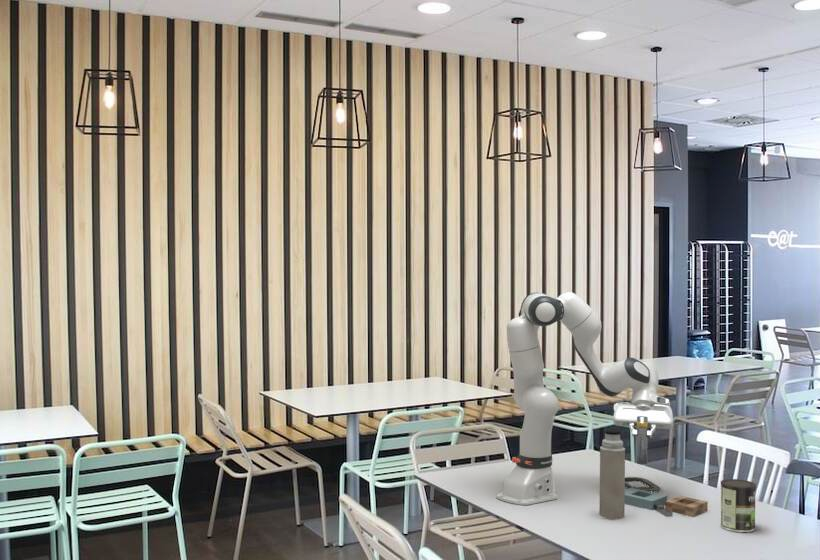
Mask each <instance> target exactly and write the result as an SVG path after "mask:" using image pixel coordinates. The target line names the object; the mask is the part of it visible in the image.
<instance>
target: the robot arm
mask: <svg viewBox="0 0 820 560" xmlns="http://www.w3.org/2000/svg"><path fill="white" fill-rule="evenodd" d="M558 321H560V322H561V323H562V324H563V325H564V326H565V327H566V329H567V330H568V331H569V332H570V334H571V335H572V337H573V342H572V343H573V348H574V350H575V351H576V353H577V354H578V356H579V358H580V360H581V361H582V362H583V364H584V365H585V367H586V369H587V370H588V371H589V374H590V375H591V376H592V378H593V379H594V382H595V384H596V385H597V388H598V389H599V391H600V392H601V393H602V394H603V395H606V396H608V397H612V398H613V397H616V396H617V395H619V394H621V393H622V392H623V391H625V390H628V389H631V390H632V393H631V400H630V402H629V401H624V402H623V401H618V402H616V403H614V404H613V412H614V413H613V417H612V421H613V424H614V425H615V426H617V427H629V430H630V431H631V432H632V434H631V435H632V437H635V438H637V429H635V428H637V416H647V417H648V429H650V430H648V432H647V433H648V434H647V438H649V439H652V437H653V434H654V433H655V432H656V429H658V430H660V429H661V430H662V429H663V430H671V429H673V428H674V415H673V414H674V413H673V410H672V407H671V402H670V399H669V398H666V397H662V396H659V395H658V389H659V374H658V371H657V367H656V366H655V365H654V364H653V363H651V362H649V361H640V360H638V359H637V358H635V357H627V358H625V359H623V360H621V361H619V362H617V363H615V364H613V365H611V366H610V367H608V366H607V367H606V366H605V365H604V364H603V363H602V360H600V358H599V356H598V355H597V353H596V352H595V350H594V343H595V342H596V341H597V339H598V337H599V336H600V334H601V332H602V321H601V319H600V317H599V316H598V314H597V313H596V312H595V310H594V309H592V308H591V307H590V305H588V303H587V302H586V301H584V300H583V299H582V298H581V297H580V296H579V295H577V294H576V293H574V292H572V291H566V292H563V293H561V294H560V295H559V296H557V297H556V298H554V297H551V296H549V295H547V294H546V293H541V292H537V291H536V292H532V293H529V294H528V295H526V296H525V297H524V298H523V300H522V303H521V305H520V308H519V312H518V317H514V318H512V319H511V320H509V322H508V323H507V324H506V339H507V347H508V353H509V355H510V356H509V357H510V362H511V367H512V371H513V386H514V387H513V388H514V391H513V392H514V393H513V399H514V402H515V404H516V406H517V407H518V409H519V410H520V411H522V412H524V418H523V424H522V428H521V429H520V431H519V453H518V455H517V457H516V456H513V457H512V458H511V462H512V463H514V464H516V465H515V467H514V468H513V470H512V471H510V473H509V475H507V476H506V478H505V479H504V481H503V486H502V491H500V492H499V493H497V494H496V495H495V498H496V499H497V500H500V501H503V502H505V503H509V504H515V505H521V506H530V505H533V504H538V503H544V502H549V501H553V500H558V495H557V494H556V488H555V487H556V486H555V476H554V475H555V474H554V473H553V470H552V466H553V455H552V430H553V426H554V421H555V417H556V414H558V412H559V408H560V404H559V403H560V402H559V400H558V398H557V396H556V395H555V393H554V392H553V391H552V390H550V389H549V388H546V387H545V385H544V369H545V364H544V360H543V354H542V349H541V344H540V339H539V337H538V336H539V335H538V334H539V328H540V327H549V326H551V325H553V324H555V323H557V322H558Z"/></svg>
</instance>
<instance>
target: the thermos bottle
mask: <svg viewBox="0 0 820 560" xmlns="http://www.w3.org/2000/svg"><path fill="white" fill-rule="evenodd" d="M604 433H605V434H604V438H603V439H602V442H601V446H600V447H599V516H600V517H601V518H603V517H604V518H603V519H607V520H620V519H624V518H625V505H626V504H625V490H626V489H625V487H626V486H625V477H626V475H625V473H626V448H625V447H624V441H623V440H621V430H618V429H605V431H604Z"/></svg>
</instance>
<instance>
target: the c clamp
mask: <svg viewBox="0 0 820 560" xmlns="http://www.w3.org/2000/svg"><path fill="white" fill-rule="evenodd" d="M639 481H641V482H640V483H642V482H643V483H642V484H644V485H645V484H646V485H645V486H640V487H639V486H638V487H637V486H635V485H632V484H630V483H629V482H639ZM647 485H648V486H649V487H648V486H647ZM625 487H626V488H627V489H629V488H636V489H640V490H645V491H649V492H651V491H652V492H654V491H657V492H660V491H661V487H660V486H659V485H657V484H655V483H654V482H652V481H651V480H649V479H647V478H643V477H637V476H625ZM659 490H660V491H659ZM654 493H655V492H654Z"/></svg>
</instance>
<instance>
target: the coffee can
mask: <svg viewBox="0 0 820 560" xmlns="http://www.w3.org/2000/svg"><path fill="white" fill-rule="evenodd" d="M756 487H757V485H756V483H755V482H752V481H750V480H744V479H736V478H727V479H723V480H720V528H722V529H723V528H724V529H723V530H726V531H729V530H730V532H733V531H734V533H741V532H747V533H752V532H751V531H753V532H755V531H756ZM754 530H755V531H754Z"/></svg>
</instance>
